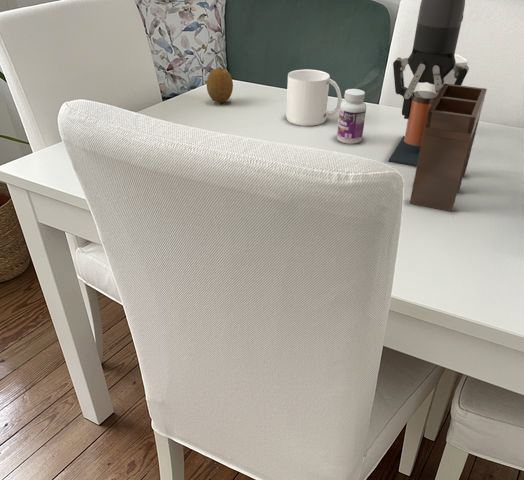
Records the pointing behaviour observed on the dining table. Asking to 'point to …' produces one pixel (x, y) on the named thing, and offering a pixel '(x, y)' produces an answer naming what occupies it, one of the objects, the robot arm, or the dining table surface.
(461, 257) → the dining table surface
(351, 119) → the pill bottle
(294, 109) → the mug
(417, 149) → the mat
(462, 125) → the rack
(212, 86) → the fruit
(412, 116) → the spice jar
